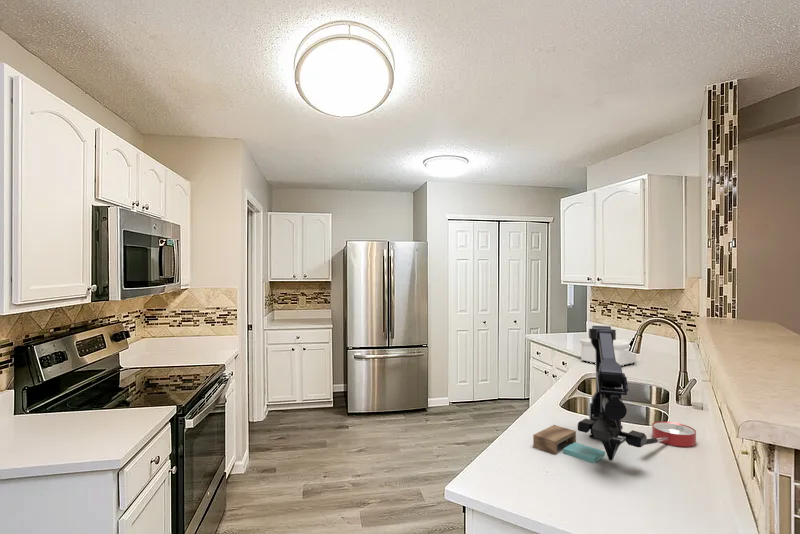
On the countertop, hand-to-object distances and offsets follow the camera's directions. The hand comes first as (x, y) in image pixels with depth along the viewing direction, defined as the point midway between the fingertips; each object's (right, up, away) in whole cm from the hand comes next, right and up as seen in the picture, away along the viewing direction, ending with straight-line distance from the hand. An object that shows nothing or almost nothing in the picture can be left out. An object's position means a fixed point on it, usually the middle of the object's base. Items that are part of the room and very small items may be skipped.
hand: (610, 459), depth 132 cm
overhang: (-12, -1, +14) cm, 18 cm away
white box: (+71, -3, +147) cm, 163 cm away
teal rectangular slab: (-6, -2, +6) cm, 9 cm away
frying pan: (+24, -2, +12) cm, 27 cm away
